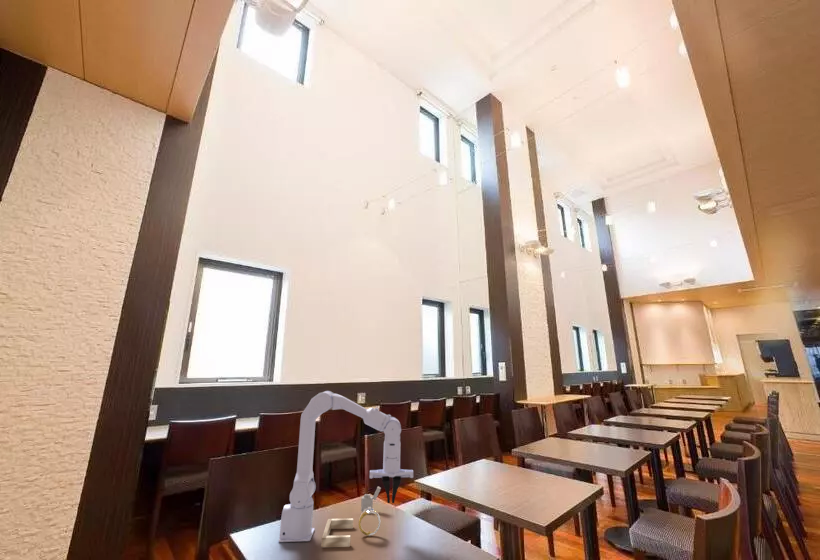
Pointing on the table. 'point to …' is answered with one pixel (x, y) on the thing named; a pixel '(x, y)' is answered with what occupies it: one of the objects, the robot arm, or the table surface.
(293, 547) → the table surface
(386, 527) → the table surface
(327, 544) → the keeper
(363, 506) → the lighter
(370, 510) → the ring
